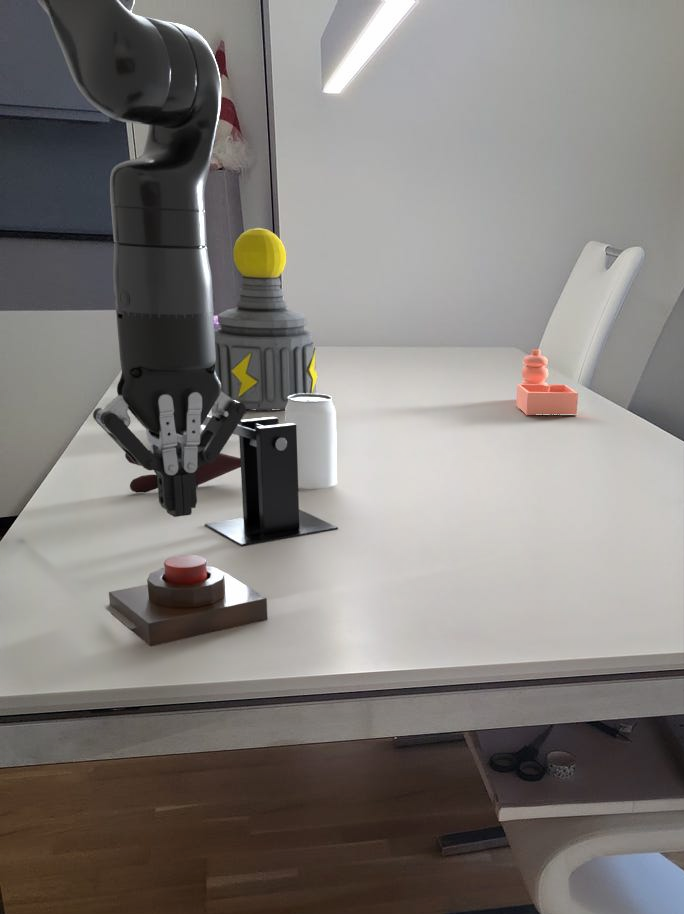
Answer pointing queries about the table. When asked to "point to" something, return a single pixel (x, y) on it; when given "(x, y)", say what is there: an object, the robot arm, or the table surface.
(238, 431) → the switch lever
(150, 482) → the icecream
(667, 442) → the table surface
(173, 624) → the button block
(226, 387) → the decorative lamp
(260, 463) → the switch bracket
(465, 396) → the table surface
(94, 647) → the table surface
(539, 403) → the pottery
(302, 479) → the can
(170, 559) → the button
